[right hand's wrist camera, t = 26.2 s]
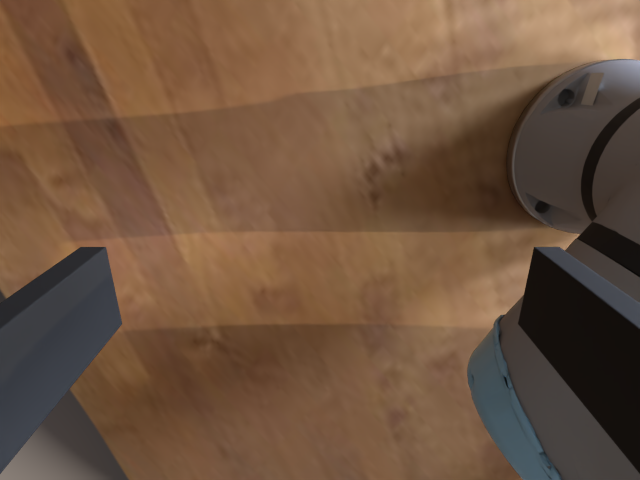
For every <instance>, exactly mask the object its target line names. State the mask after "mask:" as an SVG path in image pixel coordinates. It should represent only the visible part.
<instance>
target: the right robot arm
mask: <svg viewBox="0 0 640 480" xmlns="http://www.w3.org/2000/svg"><path fill="white" fill-rule="evenodd" d="M507 176H508V181H509V184H510V188H511V190H512V192H513V195H514V196H515V198H516V200H517V201H518V203H519V204H520V205H521V206H522V207H523V209H524V210H525V211H526V212H528V213H529V214H530V215H531V216H533V217H535V218H536V219H538V220H539V221H541V222H542V223H544V224H546V225H548V226H550V227H552V228H555V229H558V230H562V231H565V232H570V233H577V234H580V236H579V237H578V238H577V239H575V240H574V241H573V242H572V243H571V245H570V246H569V247H568V248H567V249H566V250H565V251H564V250H563V249H561V248H560V247H534V250H533V255H532V260H531V265H530V269H529V274H528V279H527V283H526V288H525V293H524V295H523V296H522V297H521V299H520V300H519V301H518V302H517V303H516V304H515V305H514V306H513V307H512V308H511V309H510V310H509V311H508V312H507V313H506V314H505V315H500V316H499V317H498V318H497V319H496V321H495V323H494V326H493V329H492V330H491V331H490V332H489V333H488V335H487V336H486V337H485V338H484V340H483V341H482V342H481V343H480V344H479V346H478V347H477V348H476V349H475V350H474V352H473V353H472V355H471V357H470V359H469V363H468V369H467V376H468V384H469V387H470V390H471V395H472V399H473V402H474V404H475V407H476V409H477V411H478V414H479V416H480V418H481V420H482V422H483V423H484V425H485V427H486V429H487V431H488V432H489V434H490V436H491V437H492V439H493V440H494V442H495V443H496V445H497V447H498V448H499V449H500V451H501V452H502V454H503V455H504V456H505V458H506V459H507V461H508V462H509V463H510V464H511V466H512V467H513V468H514V470H515V471H516V472H517V473H518V474H519V476H520V477H521V478H522V479H523V480H640V61H638V60H631V59H617V60H603V61H596V62H592V63H588V64H584V65H582V66H579V67H576V68H574V69H572V70H570V71H568V72H566V73H564V74H562V75H561V76H559V77H557V78H556V79H555V80H553V81H552V82H550V83H549V84H548V85H547V86H545V87H544V88H543V89H542V90H541V91H540V92H539V93H538V94H537V95H536V96H535V97H534V98H533V99H532V101H531V102H530V103H529V104H528V106H527V107H526V108H525V110H524V111H523V113H522V115H521V116H520V118H519V120H518V122H517V124H516V126H515V128H514V130H513V133H512V136H511V139H510V142H509V147H508V152H507ZM121 325H122V321H121V316H120V311H119V307H118V302H117V297H116V293H115V288H114V283H113V279H112V274H111V269H110V265H109V260H108V255H107V250H106V247H80V248H79V249H77V250H76V251H75V252H73V253H72V254H70V255H69V256H67V257H66V258H64V259H63V260H62V261H60V262H59V263H57V264H56V265H54V266H53V267H52V268H50V269H49V270H47V271H46V272H44V273H43V274H42V275H40V276H39V277H37V278H36V279H34V280H33V281H31V282H30V283H29V284H27V285H26V286H24V287H23V288H21V289H20V290H19V291H17V292H16V293H14V294H13V295H11V296H10V297H9V298H7V299H6V300H4V301H3V302H1V303H0V473H1V472H2V471H3V470H4V469H5V467H6V466H7V465H8V464H9V462H10V461H11V460H12V459H13V457H14V456H15V455H16V454H17V453H18V451H19V450H20V449H21V448H22V446H23V445H24V444H25V443H26V442H27V440H28V439H29V438H30V437H31V435H32V434H33V433H34V432H35V430H36V429H37V428H38V427H39V426H40V424H41V423H42V422H43V421H44V419H45V418H46V417H47V416H48V414H49V413H50V412H51V411H52V410H53V408H54V407H55V406H56V405H57V403H58V402H59V401H60V400H61V398H62V397H63V396H64V395H65V394H66V392H67V391H68V390H69V389H70V387H71V386H72V385H73V384H74V382H75V381H76V380H77V379H78V378H79V376H80V375H81V374H82V373H83V371H84V370H85V369H86V368H87V366H88V365H89V364H90V363H91V362H92V360H93V359H94V358H95V357H96V355H97V354H98V353H99V352H100V350H101V349H102V348H103V347H104V346H105V344H106V343H107V342H108V341H109V339H110V338H111V337H112V336H113V334H114V333H115V332H116V331H117V330H118V328H119V327H120V326H121Z"/></svg>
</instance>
